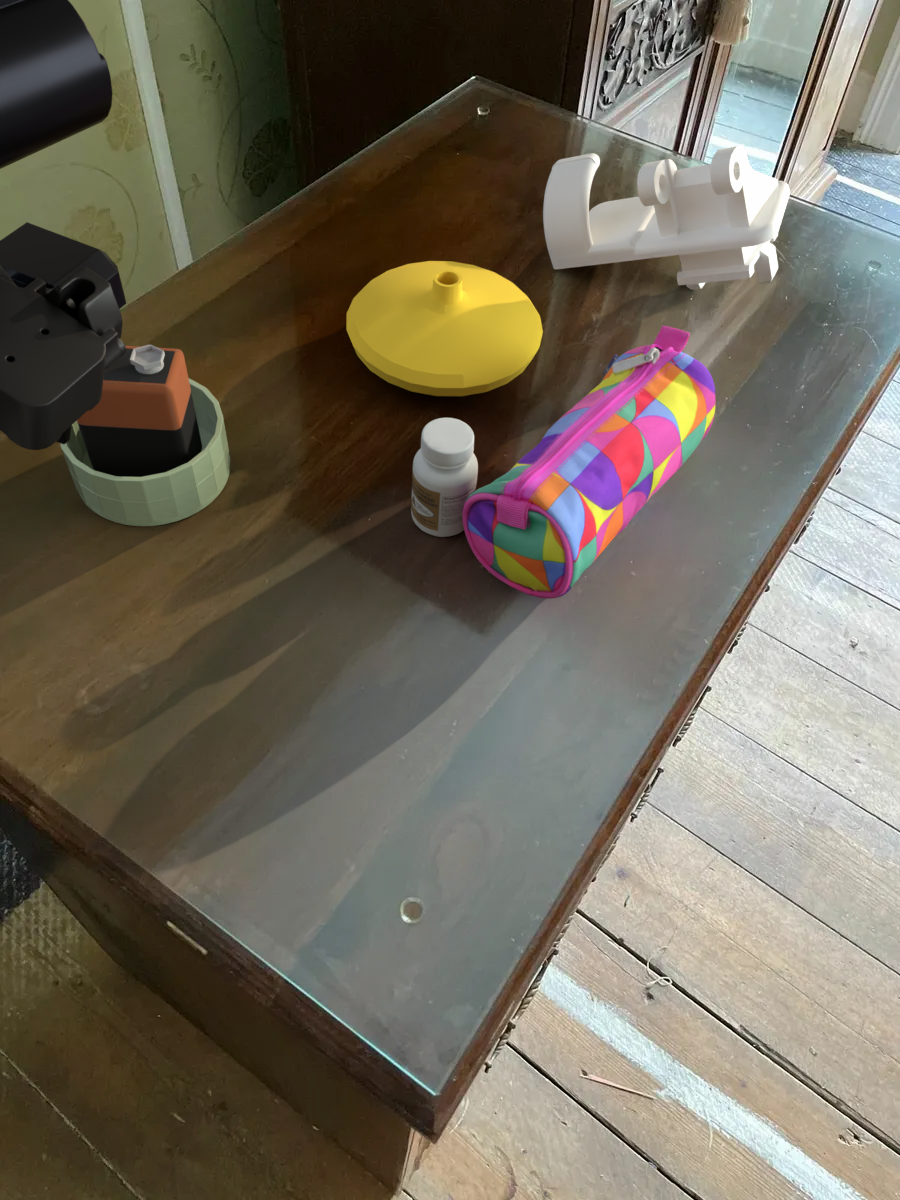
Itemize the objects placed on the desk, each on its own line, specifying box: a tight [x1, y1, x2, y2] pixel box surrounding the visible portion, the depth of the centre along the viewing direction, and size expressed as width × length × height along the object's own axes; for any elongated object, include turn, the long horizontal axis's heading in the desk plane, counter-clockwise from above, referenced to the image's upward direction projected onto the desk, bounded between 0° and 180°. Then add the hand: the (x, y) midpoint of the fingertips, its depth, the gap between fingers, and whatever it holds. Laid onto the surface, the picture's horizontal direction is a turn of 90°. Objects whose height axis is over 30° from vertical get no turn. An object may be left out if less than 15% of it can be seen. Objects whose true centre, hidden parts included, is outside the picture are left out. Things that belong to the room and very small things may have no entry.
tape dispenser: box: [542, 145, 791, 291], centre depth 83 cm, size 20×11×13 cm, turn 61°
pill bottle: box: [410, 417, 479, 538], centre depth 65 cm, size 4×4×8 cm
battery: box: [77, 343, 202, 477], centre depth 64 cm, size 4×7×10 cm, turn 89°
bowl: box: [59, 378, 231, 527], centre depth 67 cm, size 11×11×4 cm
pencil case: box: [463, 324, 717, 599], centre depth 66 cm, size 22×9×9 cm, turn 145°
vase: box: [346, 260, 544, 397], centre depth 76 cm, size 16×16×7 cm
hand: (0, 494), depth 49 cm, fingers open, 9 cm apart
